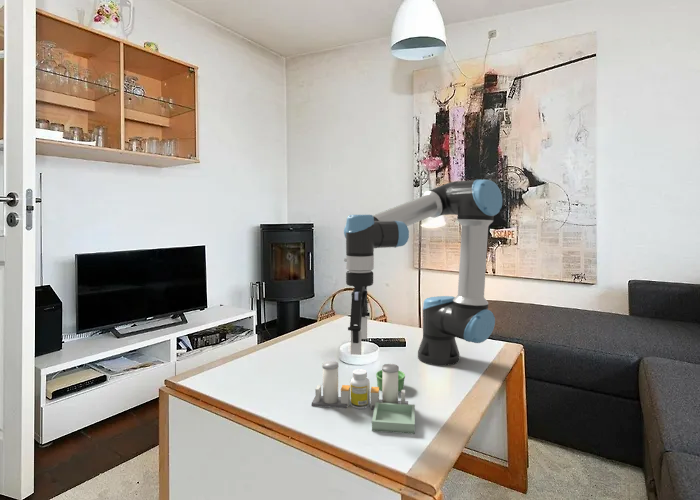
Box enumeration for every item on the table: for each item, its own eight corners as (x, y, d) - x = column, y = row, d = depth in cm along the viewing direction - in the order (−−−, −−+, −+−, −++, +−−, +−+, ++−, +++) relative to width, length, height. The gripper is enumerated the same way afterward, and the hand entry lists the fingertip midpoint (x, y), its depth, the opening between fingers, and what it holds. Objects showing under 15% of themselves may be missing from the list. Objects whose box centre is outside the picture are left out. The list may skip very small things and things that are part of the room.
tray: (414, 413, 116) (414, 404, 115) (414, 434, 105) (414, 424, 105) (375, 410, 117) (375, 402, 117) (371, 430, 107) (371, 421, 106)
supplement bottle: (357, 399, 125) (357, 366, 124) (373, 403, 121) (373, 370, 120) (346, 406, 120) (346, 372, 119) (363, 411, 117) (362, 376, 116)
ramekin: (397, 396, 126) (397, 382, 126) (370, 390, 131) (370, 376, 130) (409, 385, 134) (409, 372, 133) (384, 380, 138) (384, 366, 138)
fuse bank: (408, 403, 121) (408, 364, 120) (407, 412, 116) (408, 371, 115) (315, 398, 125) (315, 359, 124) (311, 405, 120) (311, 366, 119)
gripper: (352, 264, 130) (352, 332, 132) (338, 277, 105) (338, 360, 107) (377, 265, 129) (376, 333, 131) (368, 278, 104) (367, 362, 106)
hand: (359, 346), depth 119 cm, fingers open, 13 cm apart
